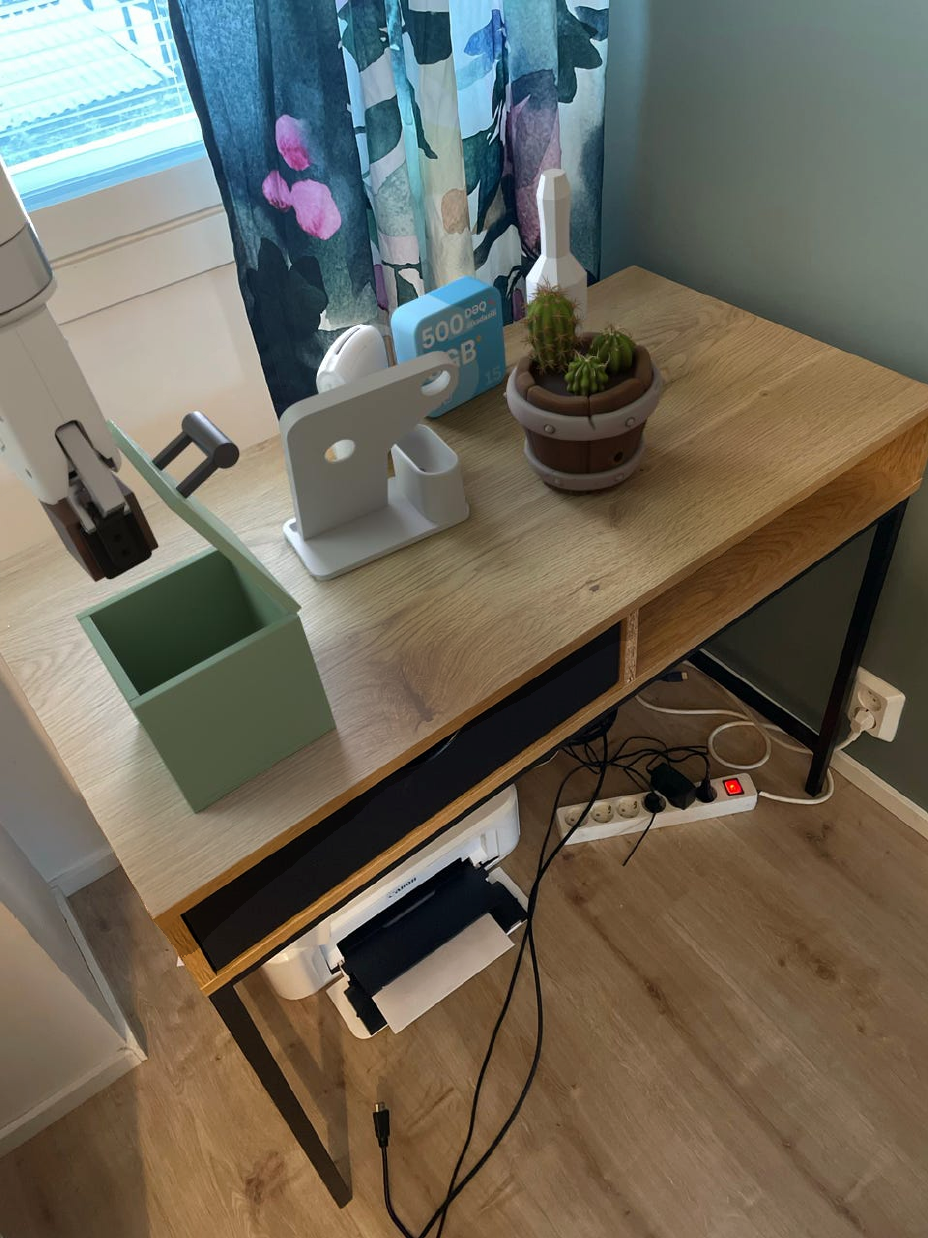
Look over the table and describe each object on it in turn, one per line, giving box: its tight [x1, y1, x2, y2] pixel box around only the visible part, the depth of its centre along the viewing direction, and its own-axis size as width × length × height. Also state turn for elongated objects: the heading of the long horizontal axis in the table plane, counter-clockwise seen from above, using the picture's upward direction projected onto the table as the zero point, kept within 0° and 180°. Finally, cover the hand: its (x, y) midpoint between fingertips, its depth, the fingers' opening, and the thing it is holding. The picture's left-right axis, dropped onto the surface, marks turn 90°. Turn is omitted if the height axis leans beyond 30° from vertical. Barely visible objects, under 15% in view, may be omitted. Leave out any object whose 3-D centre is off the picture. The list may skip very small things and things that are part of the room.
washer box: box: [75, 545, 337, 815], centre depth 69 cm, size 13×12×13 cm
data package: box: [390, 275, 507, 418], centre depth 100 cm, size 12×4×12 cm, turn 129°
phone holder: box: [278, 351, 470, 582], centre depth 83 cm, size 17×10×18 cm, turn 119°
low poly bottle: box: [525, 168, 588, 337], centre depth 99 cm, size 6×6×22 cm
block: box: [37, 469, 160, 583], centre depth 56 cm, size 4×4×4 cm
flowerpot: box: [503, 275, 666, 496], centre depth 85 cm, size 14×15×20 cm
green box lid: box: [106, 411, 302, 615], centre depth 61 cm, size 13×12×5 cm
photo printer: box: [315, 323, 390, 460], centre depth 96 cm, size 10×4×12 cm, turn 160°
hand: (110, 545), depth 58 cm, fingers closed on block, 4 cm apart
